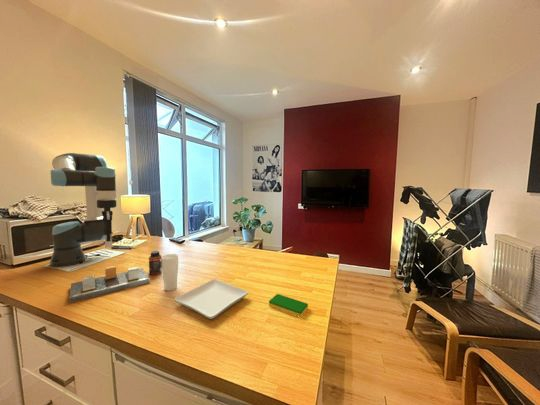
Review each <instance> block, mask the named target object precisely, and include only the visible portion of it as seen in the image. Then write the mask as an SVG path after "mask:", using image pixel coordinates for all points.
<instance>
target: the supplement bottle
mask: <svg viewBox="0 0 540 405" xmlns="http://www.w3.org/2000/svg"><path fill="white" fill-rule="evenodd" d="M148 269H149V271H148V272H149V274H150V275H154V276H155V275H159V274H161V273H162V255H161V254H160V251H159V250H154V251H151V252H150V256H149V257H148Z"/></svg>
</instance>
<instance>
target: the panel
mask: <svg viewBox="0 0 540 405" xmlns="http://www.w3.org/2000/svg"><path fill="white" fill-rule="evenodd" d="M150 278H151V277H149V276H148V274H147V273H146V271H145V269H144V268H140V267H139V266H135V267H129V268H127V271H124V272H119V273H116V277H115V278H110V279H106V278H105V276H101V277H95V275H90V276H86V277H81V279H82V280H80V281H77V282H72V283H71V284H70V290H69V297H68V298H69V299H68V300H69V304H71V303H75V302H79V301H83V300H87V299H91V298H96V297H99V296H103V295H106V294H112V293H115V292H119V291H123V290H126V289H131V288H134V287H139V286H143V285H147V284H151V281H150Z"/></svg>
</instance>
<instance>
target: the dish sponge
mask: <svg viewBox="0 0 540 405" xmlns="http://www.w3.org/2000/svg"><path fill="white" fill-rule="evenodd" d="M308 306H309V304H308V303H307V302H304V301H301V300H298V299H294V298H292V297H289V296H286V295H283V294H279V293H276V294H275V295H274V296H272V298H270V300H268V307H270V308H273V309H275V308H276V310H278V311H281V312H283V311H284V313H286V312H287V314H289V313H290V314H289V315H291V314H293V315H292V316H294V315H296V316H295V317H297V316H299V317H301V316H302V315H303V316H304V315H305V313H306V312H307V310H308V309H309V307H308ZM305 311H306V312H305ZM304 312H305V313H304ZM303 316H302V317H303ZM299 317H298V318H299ZM302 317H301V318H302Z"/></svg>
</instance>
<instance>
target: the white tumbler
mask: <svg viewBox="0 0 540 405" xmlns="http://www.w3.org/2000/svg"><path fill="white" fill-rule="evenodd" d="M161 257H162V272H161V273H162V279H163V288H164V290H165V291H167V292H168V291H169V292H171V291H174V290H176V289H177V288H178V276H179V275H178V272H179V255H178V254H176V253H169V254H165V255H161Z"/></svg>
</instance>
